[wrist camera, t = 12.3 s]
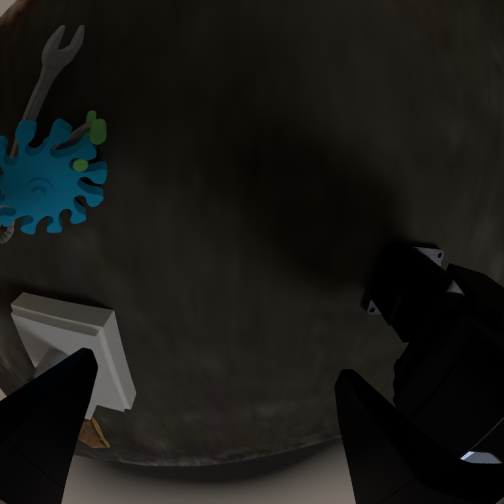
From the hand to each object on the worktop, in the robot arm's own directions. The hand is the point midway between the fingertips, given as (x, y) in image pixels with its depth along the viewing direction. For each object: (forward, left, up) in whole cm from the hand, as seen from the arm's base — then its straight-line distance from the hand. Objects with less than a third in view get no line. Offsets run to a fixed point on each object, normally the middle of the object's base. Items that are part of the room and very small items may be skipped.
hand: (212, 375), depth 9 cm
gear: (+12, -5, -12) cm, 18 cm away
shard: (+23, +34, -13) cm, 43 cm away
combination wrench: (+17, -8, -12) cm, 23 cm away
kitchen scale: (+16, +14, -12) cm, 25 cm away
